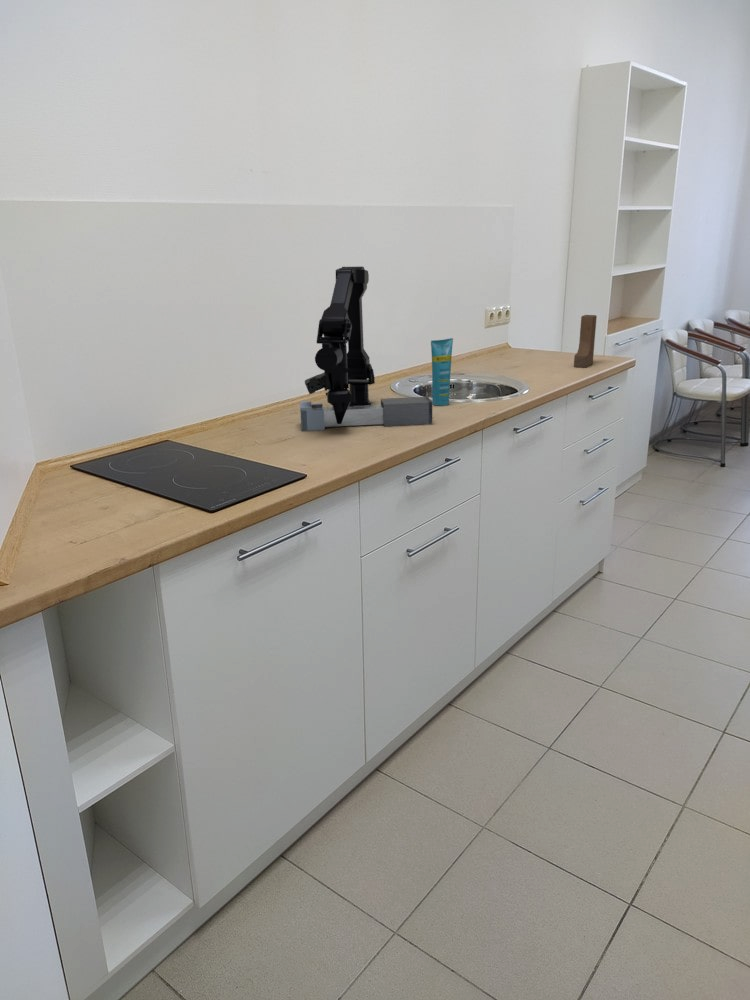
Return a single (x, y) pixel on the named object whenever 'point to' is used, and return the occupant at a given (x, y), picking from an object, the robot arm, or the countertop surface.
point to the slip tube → (355, 415)
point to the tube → (441, 370)
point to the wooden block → (586, 342)
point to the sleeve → (407, 411)
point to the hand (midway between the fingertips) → (338, 421)
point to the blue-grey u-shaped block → (311, 416)
